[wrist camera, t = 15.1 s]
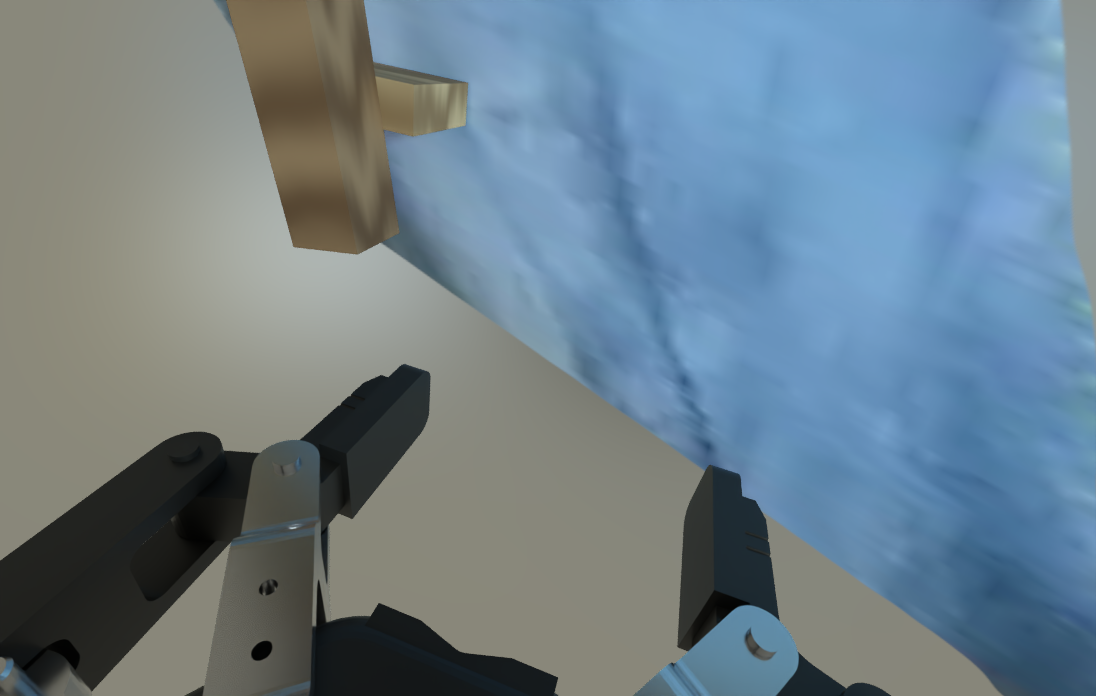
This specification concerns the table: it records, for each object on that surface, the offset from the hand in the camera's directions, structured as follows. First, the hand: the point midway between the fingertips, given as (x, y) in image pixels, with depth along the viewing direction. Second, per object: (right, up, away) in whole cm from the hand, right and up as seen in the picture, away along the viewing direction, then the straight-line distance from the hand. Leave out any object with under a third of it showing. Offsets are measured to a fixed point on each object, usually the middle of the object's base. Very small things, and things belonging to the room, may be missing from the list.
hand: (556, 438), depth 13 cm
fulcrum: (-11, +23, +24) cm, 35 cm away
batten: (-14, +19, +18) cm, 29 cm away
